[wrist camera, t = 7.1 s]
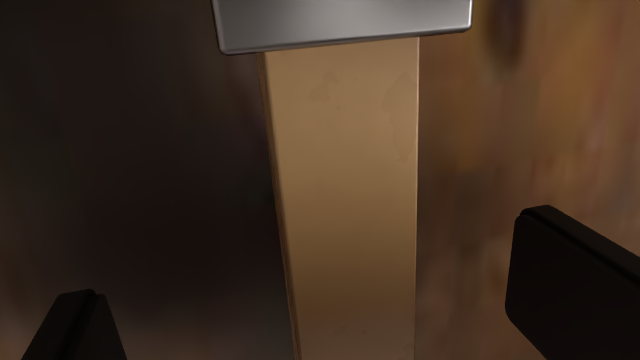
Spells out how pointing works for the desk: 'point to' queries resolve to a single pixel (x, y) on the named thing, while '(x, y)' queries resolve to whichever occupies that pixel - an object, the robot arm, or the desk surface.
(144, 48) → the desk surface
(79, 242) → the desk surface
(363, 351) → the pot
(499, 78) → the desk surface
